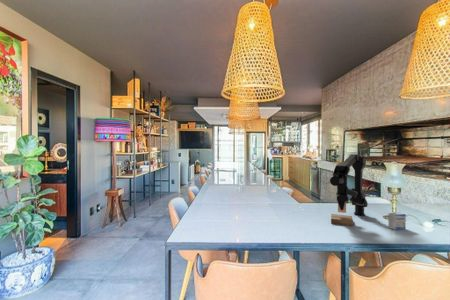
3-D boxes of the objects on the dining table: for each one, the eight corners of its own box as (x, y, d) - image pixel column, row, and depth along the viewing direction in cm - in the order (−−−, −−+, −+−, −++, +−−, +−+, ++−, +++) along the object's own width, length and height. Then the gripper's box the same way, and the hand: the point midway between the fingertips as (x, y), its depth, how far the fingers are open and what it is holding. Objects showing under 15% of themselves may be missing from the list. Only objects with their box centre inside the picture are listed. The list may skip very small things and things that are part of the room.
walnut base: (331, 218, 160) (331, 213, 160) (351, 220, 155) (351, 216, 155) (331, 223, 149) (331, 218, 149) (353, 226, 144) (353, 221, 144)
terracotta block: (337, 210, 155) (337, 199, 155) (345, 211, 153) (345, 200, 153) (337, 212, 151) (338, 200, 151) (346, 212, 149) (346, 201, 149)
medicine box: (395, 230, 138) (395, 215, 138) (388, 227, 142) (388, 212, 142) (405, 229, 140) (406, 214, 140) (398, 226, 144) (398, 212, 144)
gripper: (358, 187, 140) (357, 214, 140) (355, 183, 157) (355, 207, 157) (336, 186, 144) (336, 212, 144) (336, 182, 161) (336, 205, 162)
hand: (341, 209), depth 152 cm, fingers closed on terracotta block, 4 cm apart
